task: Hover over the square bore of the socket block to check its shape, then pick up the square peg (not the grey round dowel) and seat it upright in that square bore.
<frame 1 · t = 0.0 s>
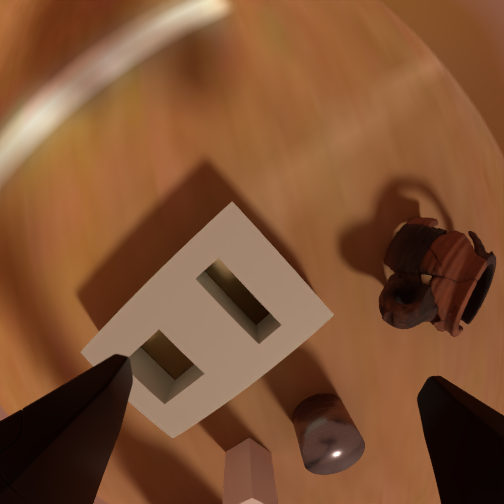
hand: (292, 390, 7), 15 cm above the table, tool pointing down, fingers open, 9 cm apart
socket block: (202, 322, 23), on the table
square peg: (248, 452, 24), on the table
round dowel: (318, 414, 24), on the table
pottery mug: (415, 275, 23), on the table
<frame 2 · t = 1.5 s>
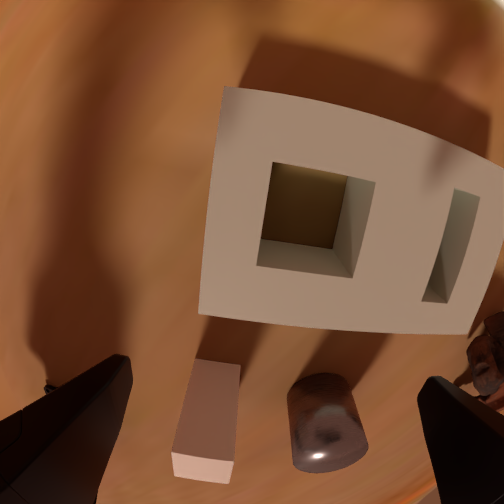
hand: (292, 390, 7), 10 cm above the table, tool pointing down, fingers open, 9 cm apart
socket block: (361, 216, 16), on the table
square peg: (216, 377, 20), on the table
round dowel: (318, 395, 21), on the table
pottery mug: (479, 349, 20), on the table
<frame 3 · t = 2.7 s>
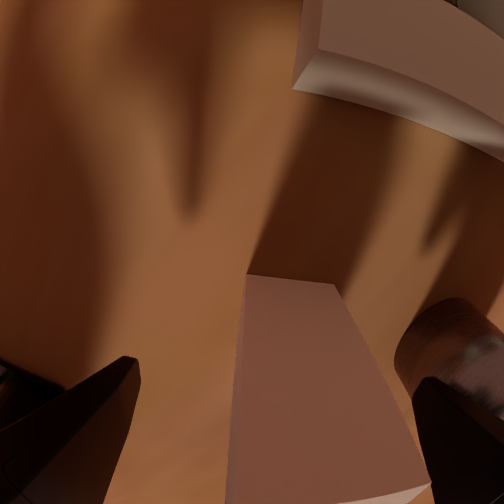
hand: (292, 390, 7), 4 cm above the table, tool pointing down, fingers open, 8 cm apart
socket block: (481, 46, 7), on the table
square peg: (283, 317, 11), on the table
round dowel: (437, 342, 12), on the table, touching gripper
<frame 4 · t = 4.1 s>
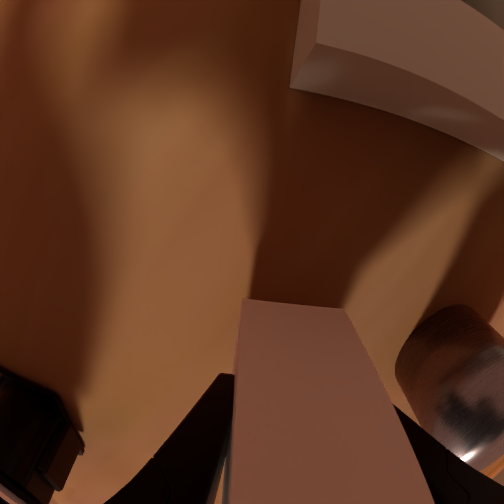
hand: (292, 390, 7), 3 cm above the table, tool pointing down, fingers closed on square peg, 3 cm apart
socket block: (486, 45, 7), on the table
square peg: (285, 346, 9), point 1 cm above the table, touching gripper
round dowel: (440, 351, 11), on the table
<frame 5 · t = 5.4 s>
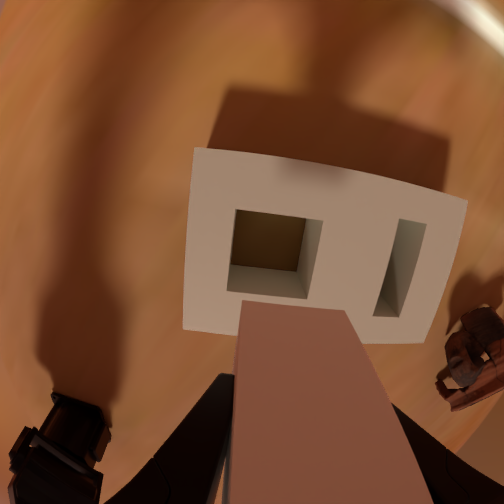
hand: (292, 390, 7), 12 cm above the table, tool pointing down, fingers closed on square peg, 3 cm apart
socket block: (321, 242, 19), on the table
square peg: (285, 347, 9), point 10 cm above the table, touching gripper
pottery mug: (459, 344, 23), on the table
when the fingers open (5 cm above the table, at t = 7.4 s): square peg drops 3 cm, resting in socket block.
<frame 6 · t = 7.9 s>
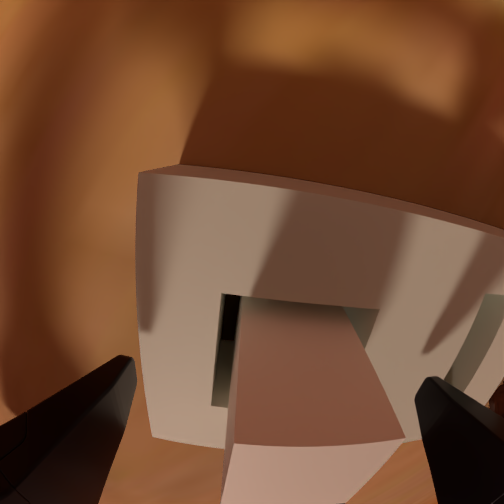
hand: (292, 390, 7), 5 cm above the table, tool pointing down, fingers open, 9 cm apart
socket block: (357, 309, 12), on the table
square peg: (278, 303, 12), resting in socket block
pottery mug: (500, 391, 16), on the table
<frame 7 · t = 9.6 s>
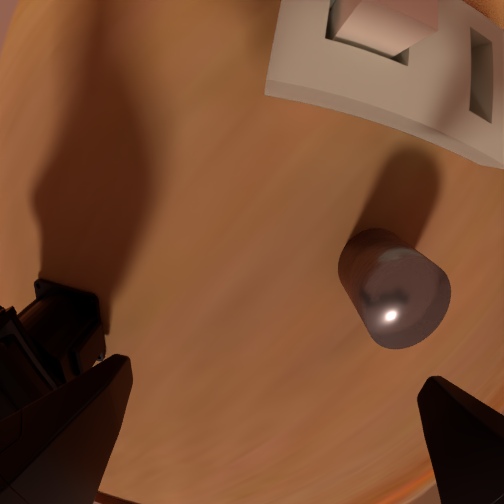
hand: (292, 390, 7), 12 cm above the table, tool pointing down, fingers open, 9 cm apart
socket block: (400, 58, 14), on the table
square peg: (349, 41, 14), resting in socket block
round dowel: (373, 264, 19), on the table
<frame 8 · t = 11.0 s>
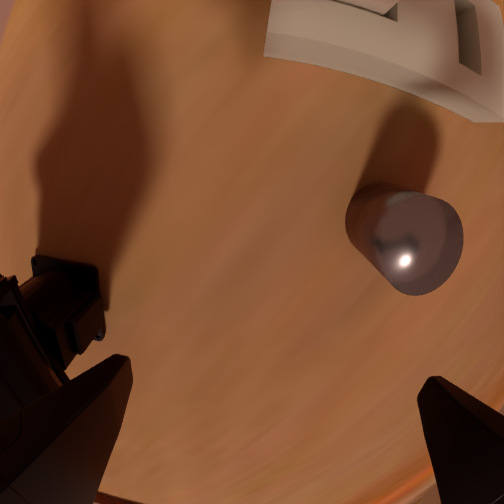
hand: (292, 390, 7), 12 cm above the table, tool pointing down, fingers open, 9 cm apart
socket block: (390, 24, 13), on the table
square peg: (341, 9, 13), resting in socket block
round dowel: (380, 219, 18), on the table
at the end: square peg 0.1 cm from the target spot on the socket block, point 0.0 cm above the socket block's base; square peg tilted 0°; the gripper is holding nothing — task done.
